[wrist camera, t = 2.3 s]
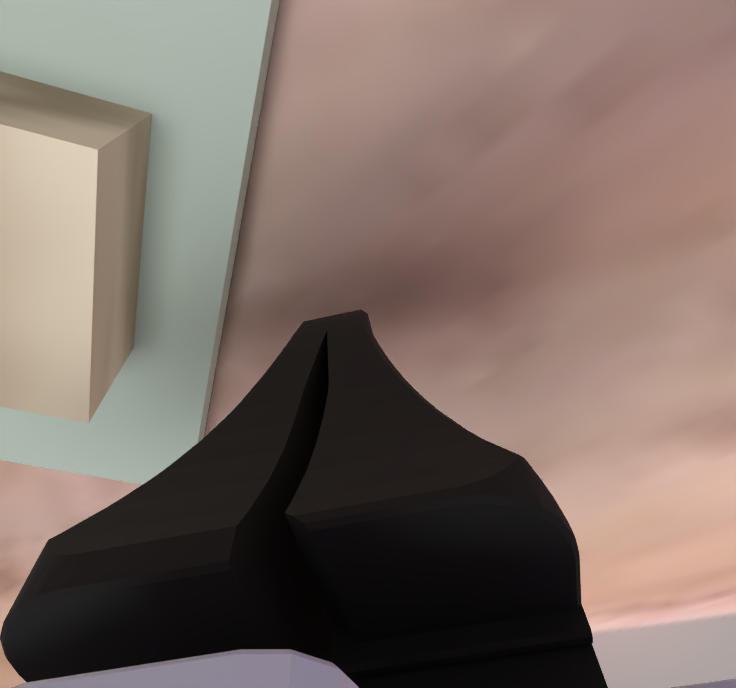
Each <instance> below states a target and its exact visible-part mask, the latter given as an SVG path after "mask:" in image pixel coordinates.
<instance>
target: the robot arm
mask: <svg viewBox="0 0 736 688" xmlns="http://www.w3.org/2000/svg"><path fill="white" fill-rule="evenodd" d="M0 640H1V643H2V647H3V650H4V654H5V656H6V658H7V660H8V661H9V662H10V664H11V665H12V666H13V668H14V669H15V670H16V672H17V673H18V674H19V675H20V676H21V677H22V678H23V679H24V680H25V681H26V683H24V684H21V685H18V686H15V687H13V688H608V687H607V685H606V682H605V679H604V676H603V673H602V671H601V668H600V665H599V662H598V660H597V657H596V654H595V651H594V649H593V646H592V643H593V637H592V632H591V628H590V626H589V623H588V620H587V618H586V615H585V612H584V610H583V607H582V604H581V584H580V558H579V551H578V546H577V542H576V539H575V536H574V534H573V531H572V529H571V527H570V525H569V523H568V521H567V519H566V518H565V516H564V514H563V512H562V511H561V509H560V507H559V506H558V504H557V502H556V501H555V499H554V498H553V496H552V494H551V493H550V492H549V490H548V489H547V487H546V486H545V485H544V483H543V482H542V480H541V479H540V478H539V476H538V475H537V474H536V472H535V471H534V470H533V469H532V467H531V466H530V465H529V463H528V462H527V461H526V460H525V458H523V457H522V456H520V455H518V454H516V453H513V452H511V451H509V450H507V449H504V448H502V447H500V446H497V445H495V444H493V443H491V442H488V441H486V440H484V439H482V438H480V437H478V436H476V435H475V434H473V433H471V432H469V431H468V430H466V429H465V428H463V427H462V426H460V425H459V424H457V423H456V422H455V421H453V420H452V419H450V418H449V417H447V416H446V415H444V414H443V413H442V412H440V411H439V410H437V409H436V408H435V407H434V406H433V405H432V404H430V403H429V402H428V401H427V400H426V399H424V398H423V397H422V396H421V395H420V394H419V393H418V392H417V391H416V390H415V389H414V388H413V387H412V386H411V385H410V384H409V383H408V382H407V381H406V380H405V379H404V378H403V376H402V375H401V374H400V373H399V372H398V370H397V369H396V368H395V367H394V366H393V364H392V363H391V362H390V360H389V359H388V358H387V356H386V355H385V353H384V352H383V350H382V349H381V347H380V346H379V344H378V342H377V341H376V339H375V337H374V335H373V333H372V329H371V325H370V321H369V317H368V314H367V313H366V312H364V311H362V310H357V311H353V312H348V313H343V314H338V315H333V316H329V317H324V318H319V319H314V320H309V321H305V322H303V323H302V325H301V326H300V327H299V328H298V330H297V331H296V332H295V334H294V335H293V337H292V338H291V339H290V341H289V342H288V344H287V345H286V346H285V348H284V349H283V351H282V352H281V353H280V355H279V356H278V357H277V359H276V360H275V361H274V362H273V364H272V365H271V366H270V368H269V369H268V370H267V372H266V373H265V374H264V375H263V377H262V378H261V379H260V380H259V381H258V382H257V384H256V385H255V386H254V387H253V388H252V389H251V391H250V392H249V393H248V394H247V395H246V396H245V398H244V399H243V400H242V401H241V402H240V403H239V404H238V405H237V407H236V408H235V409H234V410H233V411H232V412H231V413H230V414H229V415H228V416H227V417H226V418H225V419H224V420H223V421H222V422H221V423H219V424H218V425H217V426H216V427H215V428H214V429H213V430H212V431H211V432H210V433H209V434H208V435H207V436H205V437H204V438H203V439H202V440H201V441H200V442H198V443H197V444H196V445H195V446H193V447H192V448H191V449H190V450H188V451H187V452H186V453H185V454H183V455H182V456H181V457H180V458H178V459H177V460H176V461H175V462H173V463H172V464H171V465H170V466H168V467H167V468H166V469H164V470H163V471H162V472H160V473H159V474H157V475H156V476H154V477H153V478H152V479H150V480H149V481H147V482H146V483H144V484H143V485H141V486H140V487H138V488H137V489H135V490H134V491H132V492H131V493H129V494H128V495H126V496H125V497H123V498H122V499H120V500H118V501H117V502H115V503H113V504H112V505H110V506H108V507H107V508H105V509H103V510H102V511H100V512H98V513H96V514H94V515H93V516H91V517H89V518H87V519H86V520H84V521H82V522H80V523H78V524H77V525H75V526H73V527H71V528H70V529H68V530H66V531H64V532H62V533H61V534H59V535H57V536H55V537H53V538H51V539H49V540H48V541H47V543H46V545H45V547H44V548H43V550H42V552H41V554H40V556H39V558H38V559H37V561H36V563H35V565H34V567H33V569H32V571H31V572H30V574H29V576H28V578H27V580H26V582H25V583H24V585H23V587H22V589H21V591H20V593H19V595H18V596H17V598H16V600H15V602H14V604H13V606H12V607H11V609H10V611H9V613H8V615H7V617H6V619H5V620H4V622H3V627H2V631H1V636H0ZM673 688H736V679H730V680H723V681H716V682H709V683H701V684H694V685H687V686H680V687H673Z"/></svg>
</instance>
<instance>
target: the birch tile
mask: <svg viewBox="0 0 736 688" xmlns="http://www.w3.org/2000/svg"><path fill="white" fill-rule="evenodd" d="M151 121H152V113H148V112H145V111H141V110H138V109H134V108H130V107H127V106H123V105H120V104H116V103H112V102H109V101H105V100H102V99H98V98H94V97H91V96H87V95H84V94H80V93H77V92H73V91H69V90H66V89H62V88H59V87H55V86H51V85H48V84H44V83H41V82H37V81H33V80H30V79H26V78H23V77H19V76H16V75H12V74H8V73H5V72H1V71H0V407H5V408H11V409H16V410H21V411H26V412H32V413H37V414H42V415H48V416H53V417H58V418H63V419H69V420H74V421H79V422H85V423H89V422H90V420H91V419H92V417H93V415H94V414H95V412H96V410H97V409H98V407H99V405H100V404H101V402H102V400H103V398H104V397H105V395H106V393H107V392H108V390H109V388H110V387H111V385H112V383H113V382H114V380H115V378H116V377H117V375H118V373H119V372H120V370H121V368H122V367H123V365H124V363H125V362H126V360H127V358H128V356H129V355H130V353H131V351H132V350H133V347H134V335H135V322H136V309H137V297H138V284H139V272H140V259H141V247H142V234H143V222H144V209H145V197H146V184H147V172H148V159H149V146H150V134H151Z"/></svg>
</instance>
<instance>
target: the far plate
mask: <svg viewBox="0 0 736 688" xmlns="http://www.w3.org/2000/svg"><path fill="white" fill-rule="evenodd" d="M279 1H280V0H0V71H1V72H5V73H8V74H12V75H16V76H19V77H23V78H26V79H30V80H33V81H37V82H41V83H44V84H48V85H51V86H55V87H59V88H62V89H66V90H69V91H73V92H77V93H80V94H84V95H87V96H91V97H94V98H98V99H102V100H105V101H109V102H112V103H116V104H120V105H123V106H127V107H130V108H134V109H138V110H141V111H145V112H148V113H152V121H151V134H150V146H149V159H148V172H147V184H146V197H145V209H144V222H143V234H142V247H141V259H140V272H139V284H138V297H137V309H136V322H135V335H134V347H133V350H132V351H131V353H130V355H129V356H128V358H127V360H126V362H125V363H124V365H123V367H122V368H121V370H120V372H119V373H118V375H117V377H116V378H115V380H114V382H113V383H112V385H111V387H110V388H109V390H108V392H107V393H106V395H105V397H104V398H103V400H102V402H101V404H100V405H99V407H98V409H97V410H96V412H95V414H94V415H93V417H92V419H91V420H90V422H89V423H85V422H79V421H74V420H69V419H63V418H58V417H53V416H48V415H42V414H37V413H32V412H26V411H21V410H16V409H11V408H5V407H0V460H4V461H10V462H16V463H21V464H27V465H33V466H38V467H44V468H50V469H56V470H61V471H67V472H73V473H79V474H84V475H90V476H96V477H101V478H107V479H113V480H119V481H124V482H130V483H136V484H141V485H143V484H144V483H146V482H147V481H149V480H150V479H152V478H153V477H154V476H156V475H157V474H159V473H160V472H162V471H163V470H164V469H166V468H167V467H168V466H170V465H171V464H172V463H173V462H175V461H176V460H177V459H178V458H180V457H181V456H182V455H183V454H185V453H186V452H187V451H188V450H190V449H191V448H192V447H193V446H195V445H196V444H197V443H198V442H200V441H201V440H202V439H203V438H204V433H205V427H206V422H207V416H208V410H209V404H210V399H211V393H212V387H213V381H214V376H215V370H216V364H217V358H218V352H219V347H220V341H221V335H222V329H223V324H224V318H225V312H226V306H227V301H228V295H229V289H230V283H231V278H232V272H233V266H234V260H235V255H236V249H237V243H238V237H239V232H240V226H241V220H242V214H243V209H244V203H245V197H246V191H247V185H248V180H249V174H250V168H251V162H252V157H253V151H254V145H255V139H256V134H257V128H258V122H259V116H260V111H261V105H262V99H263V93H264V88H265V82H266V76H267V70H268V65H269V59H270V53H271V47H272V42H273V36H274V30H275V24H276V18H277V13H278V7H279Z"/></svg>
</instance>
